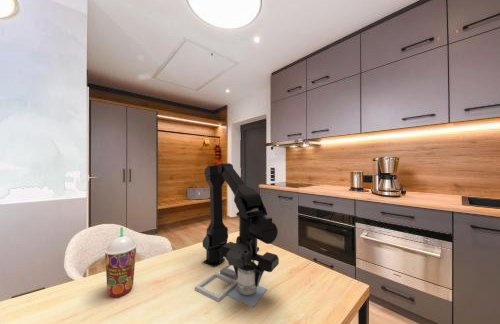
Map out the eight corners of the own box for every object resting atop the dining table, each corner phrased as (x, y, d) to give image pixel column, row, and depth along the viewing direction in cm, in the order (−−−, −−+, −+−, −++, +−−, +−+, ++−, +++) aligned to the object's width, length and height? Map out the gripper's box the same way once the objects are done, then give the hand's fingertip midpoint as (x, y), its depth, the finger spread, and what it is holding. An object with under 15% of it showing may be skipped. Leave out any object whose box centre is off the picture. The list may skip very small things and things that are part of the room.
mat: (227, 295, 60) (227, 294, 60) (243, 280, 68) (243, 279, 68) (252, 307, 55) (252, 306, 55) (267, 290, 63) (267, 288, 63)
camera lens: (258, 295, 59) (259, 269, 59) (237, 296, 58) (238, 269, 58) (256, 282, 65) (256, 258, 65) (237, 283, 64) (237, 259, 64)
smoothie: (101, 304, 56) (102, 233, 56) (106, 287, 63) (107, 225, 63) (135, 295, 60) (136, 229, 60) (136, 280, 67) (137, 222, 67)
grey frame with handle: (194, 289, 62) (194, 281, 62) (244, 254, 87) (244, 248, 87) (218, 301, 57) (218, 292, 57) (264, 260, 82) (264, 254, 82)
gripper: (208, 234, 60) (207, 285, 59) (262, 249, 50) (261, 310, 50) (230, 224, 69) (230, 269, 69) (279, 235, 59) (279, 287, 59)
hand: (247, 282), depth 61 cm, fingers closed on camera lens, 6 cm apart
